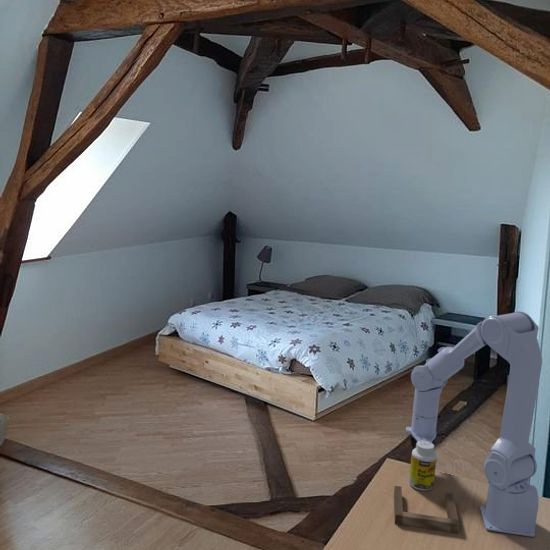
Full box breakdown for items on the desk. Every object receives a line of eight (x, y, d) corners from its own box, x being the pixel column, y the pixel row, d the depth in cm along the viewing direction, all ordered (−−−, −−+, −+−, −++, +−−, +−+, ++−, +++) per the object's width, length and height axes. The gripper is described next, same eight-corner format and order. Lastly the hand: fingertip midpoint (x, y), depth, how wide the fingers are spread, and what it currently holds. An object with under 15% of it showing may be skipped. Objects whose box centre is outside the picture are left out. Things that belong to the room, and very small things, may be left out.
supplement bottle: (413, 492, 129) (418, 450, 127) (405, 479, 134) (409, 438, 132) (437, 491, 130) (442, 450, 128) (427, 478, 135) (432, 438, 133)
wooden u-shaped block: (451, 502, 126) (452, 493, 125) (458, 533, 115) (459, 524, 115) (393, 493, 128) (394, 485, 127) (394, 523, 117) (395, 514, 117)
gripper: (406, 399, 143) (401, 449, 146) (409, 424, 129) (403, 479, 132) (435, 402, 142) (430, 452, 145) (441, 428, 128) (435, 483, 131)
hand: (419, 465), depth 138 cm, fingers closed
